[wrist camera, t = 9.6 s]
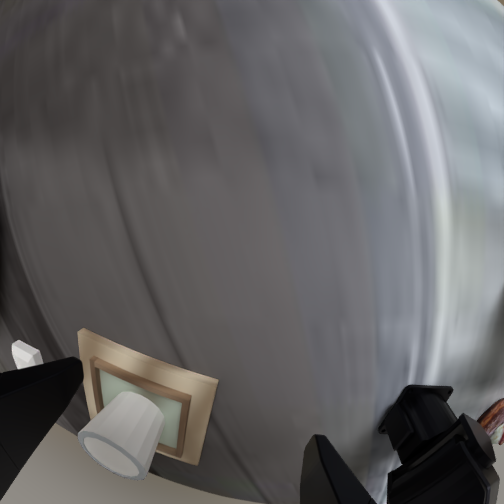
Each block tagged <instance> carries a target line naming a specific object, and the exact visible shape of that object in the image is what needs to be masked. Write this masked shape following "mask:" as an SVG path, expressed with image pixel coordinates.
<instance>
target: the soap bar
mask: <svg viewBox="0 0 504 504" xmlns="http://www.w3.org/2000/svg"><path fill="white" fill-rule="evenodd" d="M12 355H13V358H14V360H15V363H16V366H17V369H21V368H26V367H30V366H35V365H39V364H44V363H43V360H42V357H41V354H40V351H39V350H37V349H35V348H33V347H31V346H29V345H27V344H25V343H24V342H22V341H20V340H18V341H16V342H14V343H13V344H12Z"/></svg>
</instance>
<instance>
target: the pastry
mask: <svg viewBox="0 0 504 504" xmlns="http://www.w3.org/2000/svg"><path fill="white" fill-rule="evenodd" d="M477 422H478V423H480V425H481V426H482V427H483V429H484V430H485V431H486V433H487V434H488V435H489V437H490V439H491V443H492V444H497V443H498V444H499V445H501V444H503V443H504V398H503V399H500V400H498V401H497V402H495V403H494V404H493V405H492V406H491V407H490V408H489V409H488V410H487V411H486V412H485V413H484V414H483V415H482V416H481V417H480V418H479V420H478V421H477Z"/></svg>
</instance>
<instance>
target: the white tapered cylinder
mask: <svg viewBox="0 0 504 504" xmlns="http://www.w3.org/2000/svg"><path fill="white" fill-rule="evenodd" d="M164 425H165V419H164V415H163V414H162V412H161V411H160V409H159V408H158V407H157V406H156V405H155V404H154V403H153V402H152V401H150V400H149V399H147V398H145V397H143V396H142V395H140V394H136V393H133V392H121V393H120V394H118V395H117V396H116V397H115V398H114V399H113V400H112V401H111V402H110V403H109V404H108V405H107V406H106V407H105V408H104V409H102V410H101V411H100V412H99V413H98V414H97V415H96V416H95V417H94V418H93V419H92V420H91V421H90V422H89V423H88V424H87V425H86V426H85V427H84V428H83V429H82V430H81V431H80V432H79V433H78V440H79V442H80V444H81V446H82V448H83V449H84V450H85V451H86V453H87V454H88V455H89V456H90V457H91V458H92V459H94V460H95V461H96V462H97V463H98V464H100V465H101V466H103V467H104V468H106V469H107V470H109V471H111V472H112V473H114V474H117V475H119V476H121V477H124V478H127V479H132V480H144V478H145V477H146V476H147V473H148V470H149V467H150V465H151V462H152V459H153V456H154V453H155V450H156V447H157V445H158V442H159V439H160V436H161V433H162V431H163V428H164Z"/></svg>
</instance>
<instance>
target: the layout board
mask: <svg viewBox="0 0 504 504" xmlns="http://www.w3.org/2000/svg"><path fill="white" fill-rule="evenodd" d="M78 342H79V352H80V360H81V361H82V363H83V370H84V380H83V382H84V388H85V394H86V399H87V404H88V409H89V414H90V418H91V420H92V419H93V418H94V417H95V416H96V415H97V414H98V413H99V412H100V411H101V410H102V409H104V408H105V407H106V406H107V405H108V404H109V403H110V402H111V401H112V400H113V399H114V398H115V397H116V396H117V395H118V394H120V393H121V392H133V393H136V394H140V395H142V396H143V397H145V398H147V399H149V400H150V401H152V402H153V403H154V404H155V405H156V406H157V407H158V408H159V409H160V411H161V412H162V414H163V415H164V419H165V425H164V428H163V431H162V433H161V436H160V439H159V442H158V445H157V447H156V450H155V452H158V453H160V454H163V455H166V456H168V457H171V458H174V459H177V460H180V461H183V462H186V463H190V464H193V465H196V466H198V463H199V460H200V456H201V452H202V448H203V444H204V440H205V435H206V431H207V427H208V423H209V419H210V415H211V410H212V406H213V402H214V398H215V394H216V390H217V385H218V381H219V380H218V379H215V378H211V377H208V376H204V375H201V374H198V373H195V372H192V371H188V370H185V369H182V368H179V367H176V366H174V365H171V364H168V363H165V362H162V361H160V360H157V359H154V358H152V357H149V356H146V355H144V354H141V353H139V352H136V351H134V350H131V349H129V348H127V347H124V346H122V345H120V344H117V343H115V342H113V341H110V340H108V339H106V338H104V337H102V336H99V335H97V334H95V333H93V332H91V331H89V330H87V329H85V328H83V329H81V330H80V331H78Z"/></svg>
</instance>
